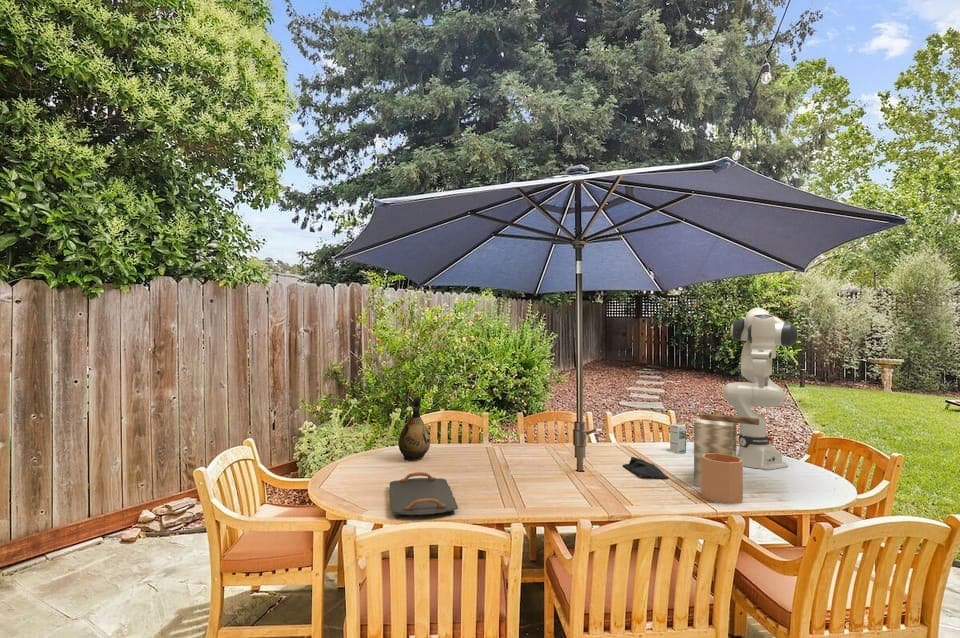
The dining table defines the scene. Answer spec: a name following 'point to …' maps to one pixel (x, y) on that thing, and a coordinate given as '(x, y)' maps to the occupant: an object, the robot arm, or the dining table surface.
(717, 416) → the slat
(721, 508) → the dining table surface
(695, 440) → the zigzag patterned cylinder
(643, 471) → the black cloth
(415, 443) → the ceramic jug
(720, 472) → the pot
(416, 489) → the serving board
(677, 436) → the syrup box
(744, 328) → the robot arm
